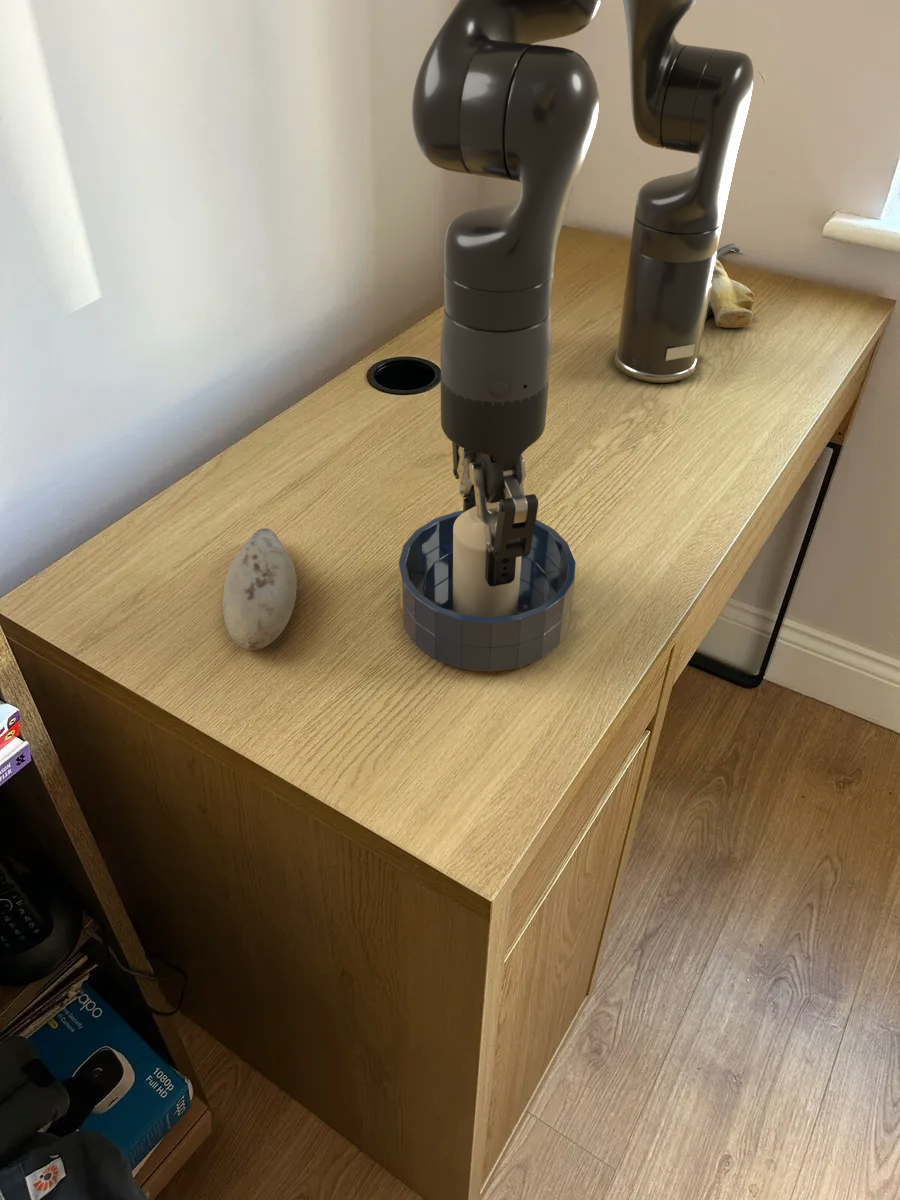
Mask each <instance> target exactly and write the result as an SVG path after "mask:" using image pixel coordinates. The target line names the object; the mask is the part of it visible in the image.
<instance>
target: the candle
mask: <svg viewBox="0 0 900 1200" xmlns="http://www.w3.org/2000/svg"><path fill="white" fill-rule="evenodd" d="M499 504H500V502H497V503H488V502H487V509H494V508H497V506H499ZM496 526H497V522H496V524H495V533H496ZM521 557H522V556H520V557H516V565H515V579H514V580H513V582H511V583H508V584H503V585H498V586H489V585H488V583H487V581H486V579H485V569H486V535H485V525H484V523H483V522H482V521H481V520H480V519H478V517H477V510H476V506H475V507H473V508H471V509H469V510H467V511H465V512H464V513H462V514H461V515H460V516H459V517H458V518H457V519H456V520H455V522H454V526H453V608H454V612H456V613H459V614H462V615H467V616H477V617H487V618H495V617H503V616H512V615H515V614H516V612H517V609H518V600H519V586H520V571H521Z"/></svg>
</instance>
